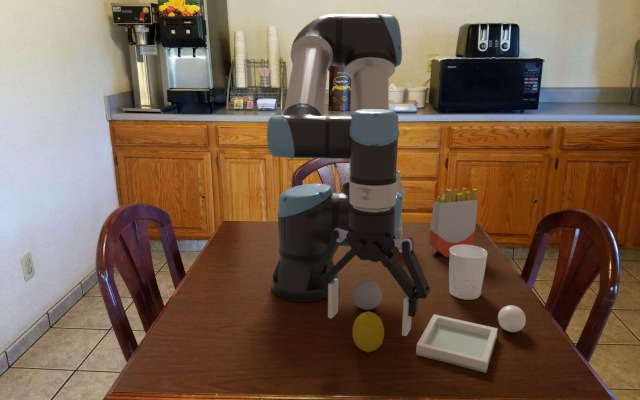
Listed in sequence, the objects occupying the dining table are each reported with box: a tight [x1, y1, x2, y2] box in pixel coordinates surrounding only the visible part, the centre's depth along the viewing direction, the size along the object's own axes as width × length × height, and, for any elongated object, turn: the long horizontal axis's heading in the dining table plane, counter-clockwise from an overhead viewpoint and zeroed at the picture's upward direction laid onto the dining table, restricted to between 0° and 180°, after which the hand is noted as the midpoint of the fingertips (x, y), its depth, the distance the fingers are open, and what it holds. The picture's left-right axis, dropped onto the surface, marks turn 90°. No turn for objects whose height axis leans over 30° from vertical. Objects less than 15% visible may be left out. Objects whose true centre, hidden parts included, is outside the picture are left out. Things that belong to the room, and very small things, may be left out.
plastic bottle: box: [396, 170, 406, 239], centre depth 141 cm, size 6×7×20 cm
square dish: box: [415, 314, 498, 374], centre depth 93 cm, size 12×12×2 cm
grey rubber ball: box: [351, 279, 383, 311], centre depth 106 cm, size 6×6×6 cm
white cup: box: [448, 245, 488, 301], centre depth 112 cm, size 8×8×10 cm
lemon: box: [352, 310, 385, 354], centre depth 90 cm, size 6×6×8 cm
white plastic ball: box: [497, 304, 527, 333], centre depth 97 cm, size 5×5×5 cm
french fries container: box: [428, 187, 479, 258], centre depth 133 cm, size 5×11×18 cm, turn 107°
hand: (368, 323), depth 89 cm, fingers open, 13 cm apart
